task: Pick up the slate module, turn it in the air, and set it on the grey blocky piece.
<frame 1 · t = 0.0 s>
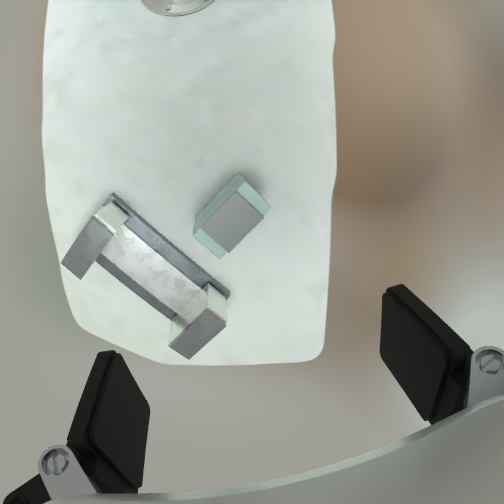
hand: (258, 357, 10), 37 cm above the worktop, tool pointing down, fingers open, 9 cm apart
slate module: (227, 205, 46), on the worktop
grey blocky piece: (152, 267, 48), on the worktop
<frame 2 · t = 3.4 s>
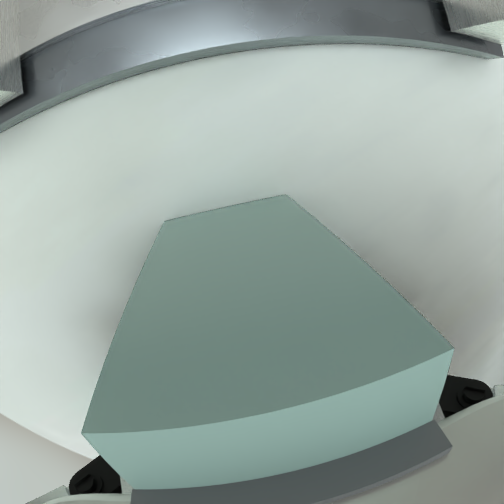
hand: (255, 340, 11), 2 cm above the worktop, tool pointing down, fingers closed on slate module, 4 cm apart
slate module: (248, 312, 13), on the worktop, touching gripper
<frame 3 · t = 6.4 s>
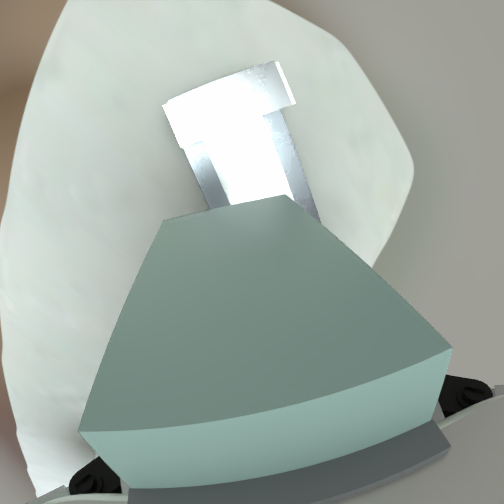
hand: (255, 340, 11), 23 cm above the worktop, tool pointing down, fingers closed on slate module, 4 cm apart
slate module: (247, 312, 13), point 21 cm above the worktop, touching gripper
grey blocky piece: (259, 197, 32), on the worktop
when the fingers open (5 cm above the worktop, at t = 9.6 s): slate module drops 1 cm, resting on grey blocky piece.
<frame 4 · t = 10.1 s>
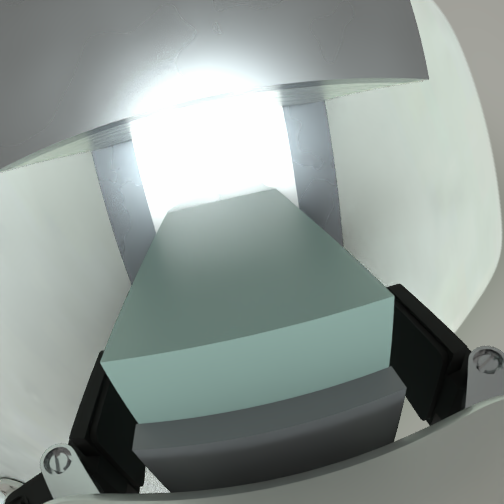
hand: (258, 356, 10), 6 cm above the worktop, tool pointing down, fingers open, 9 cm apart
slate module: (243, 297, 14), point 2 cm above the worktop, touching grey blocky piece
grey blocky piece: (241, 279, 16), on the worktop
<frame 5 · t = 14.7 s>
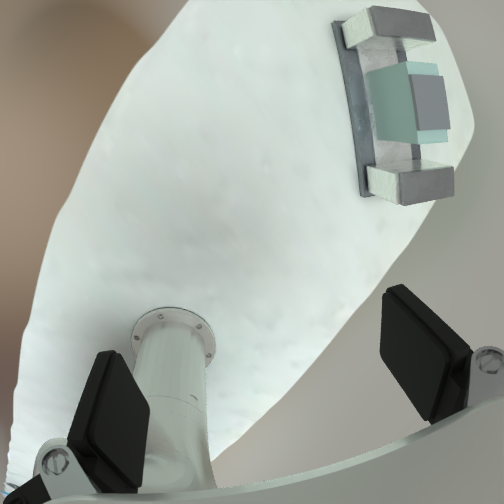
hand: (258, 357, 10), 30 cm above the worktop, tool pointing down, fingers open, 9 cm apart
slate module: (387, 105, 35), point 2 cm above the worktop, touching grey blocky piece
grey blocky piece: (381, 105, 36), on the worktop
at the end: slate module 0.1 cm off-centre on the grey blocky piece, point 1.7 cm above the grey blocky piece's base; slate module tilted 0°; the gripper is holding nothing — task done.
